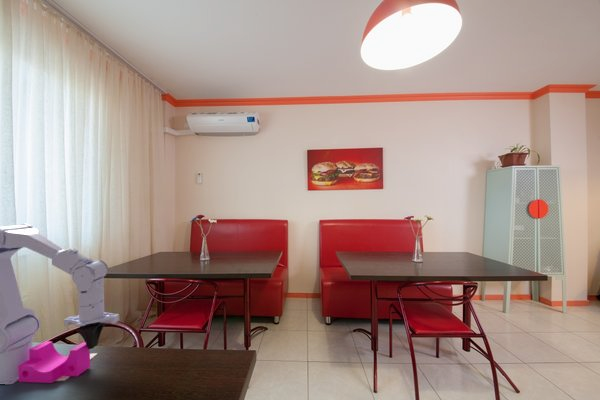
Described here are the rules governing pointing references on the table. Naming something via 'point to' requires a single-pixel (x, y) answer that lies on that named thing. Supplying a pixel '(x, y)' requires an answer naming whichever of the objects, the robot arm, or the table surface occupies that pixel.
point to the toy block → (53, 363)
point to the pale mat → (69, 376)
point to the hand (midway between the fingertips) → (92, 346)
